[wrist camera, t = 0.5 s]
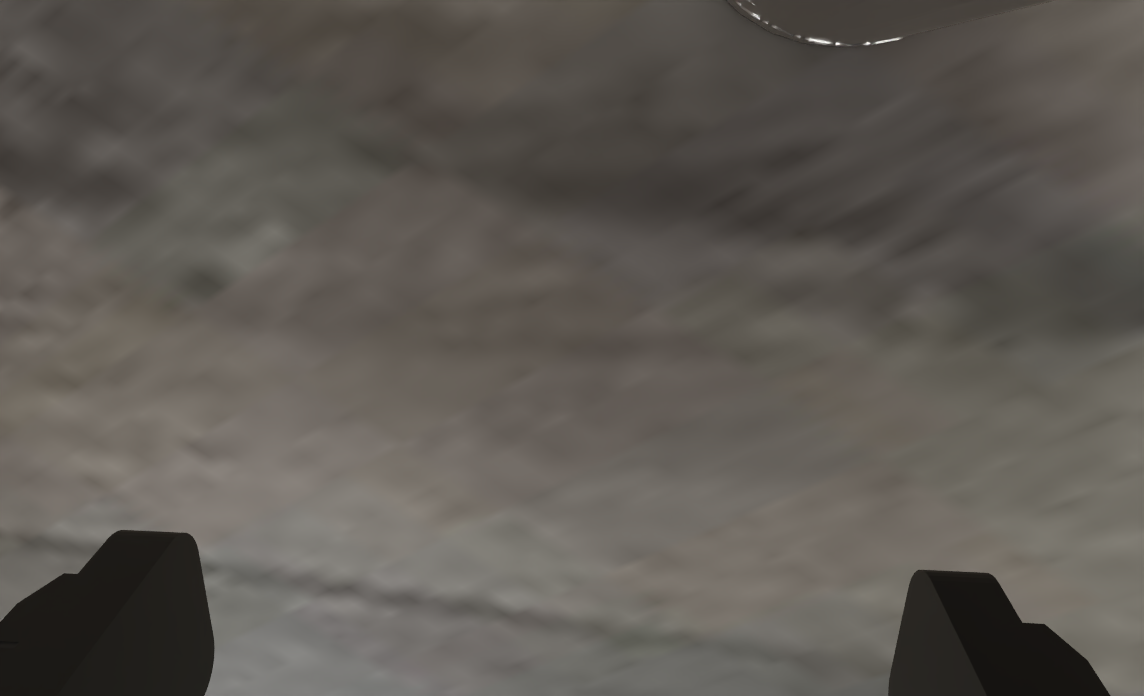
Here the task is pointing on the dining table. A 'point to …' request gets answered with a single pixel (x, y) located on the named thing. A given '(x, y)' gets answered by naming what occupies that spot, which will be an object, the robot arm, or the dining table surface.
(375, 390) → the dining table surface
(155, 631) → the robot arm
